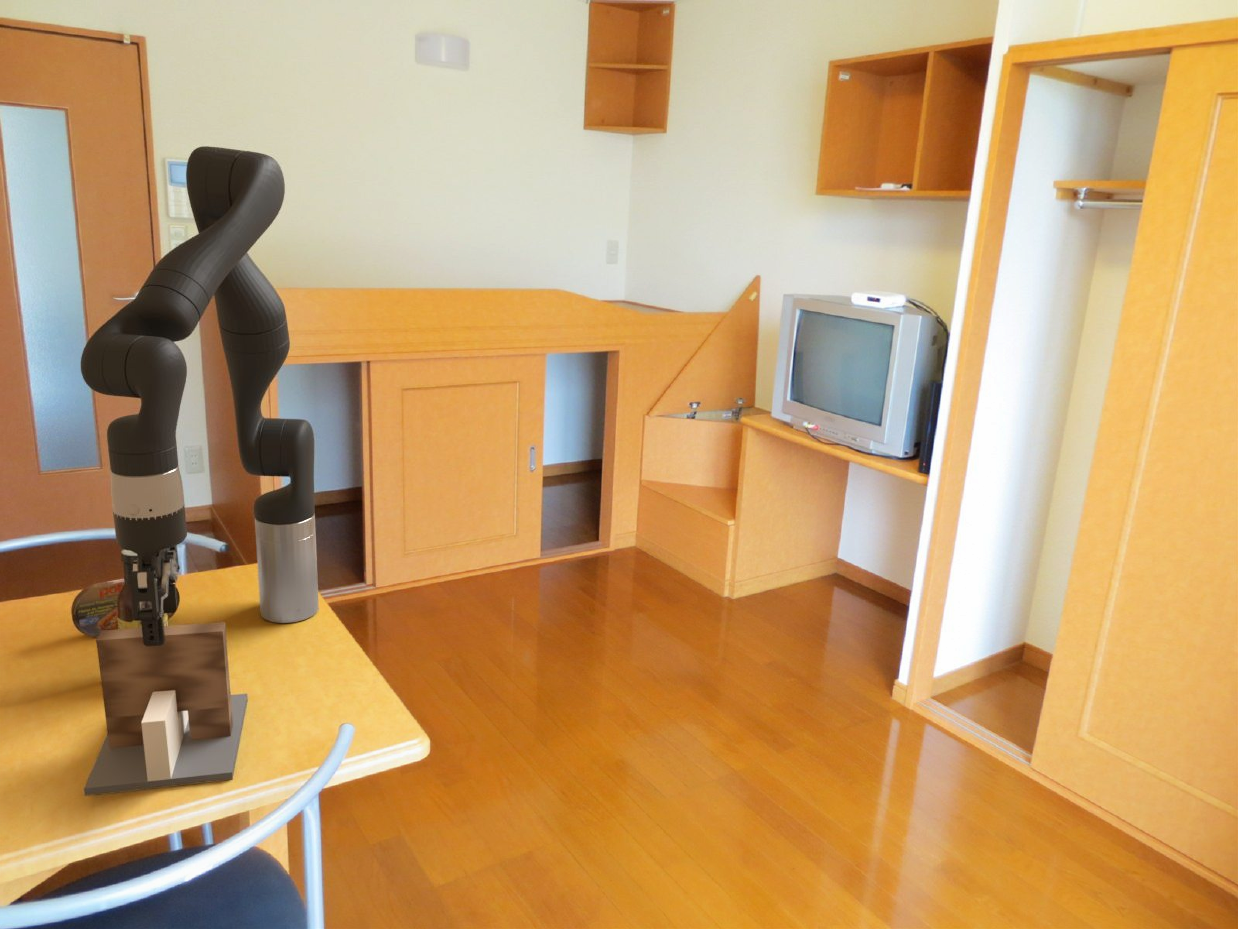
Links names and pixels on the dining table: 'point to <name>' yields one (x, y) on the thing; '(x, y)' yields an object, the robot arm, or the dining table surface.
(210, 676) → the walnut plate
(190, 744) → the slotted stand
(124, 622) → the sauce bottle
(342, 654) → the dining table surface
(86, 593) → the tin
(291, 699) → the dining table surface
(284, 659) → the dining table surface
